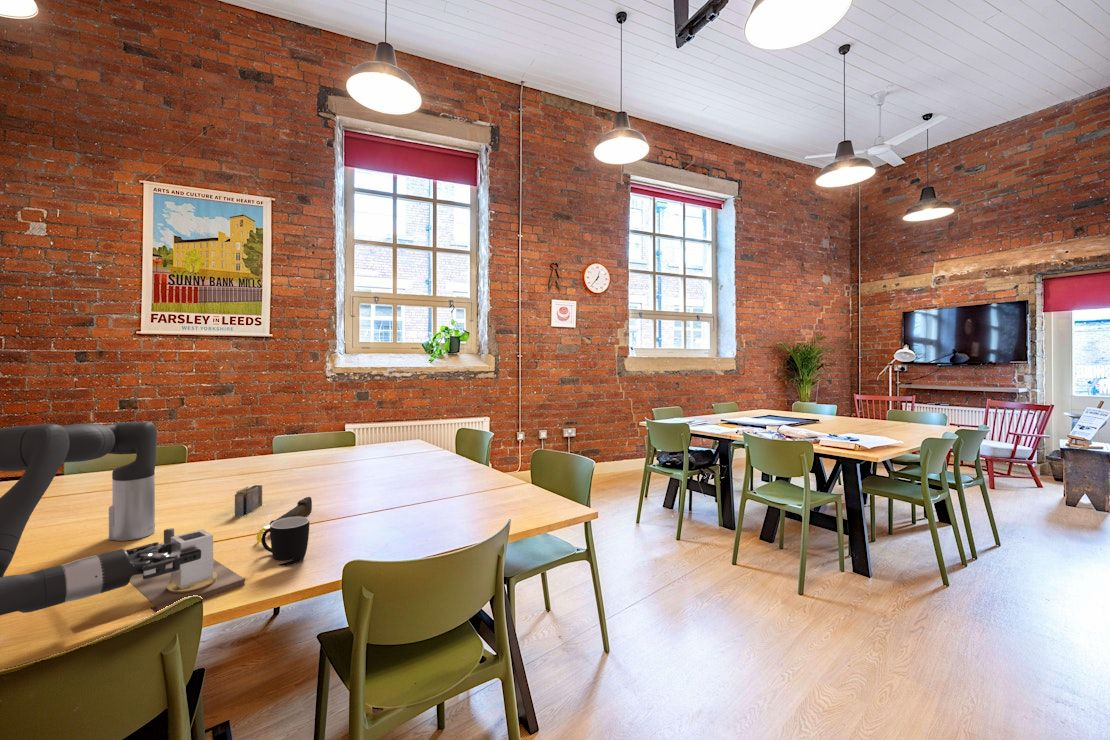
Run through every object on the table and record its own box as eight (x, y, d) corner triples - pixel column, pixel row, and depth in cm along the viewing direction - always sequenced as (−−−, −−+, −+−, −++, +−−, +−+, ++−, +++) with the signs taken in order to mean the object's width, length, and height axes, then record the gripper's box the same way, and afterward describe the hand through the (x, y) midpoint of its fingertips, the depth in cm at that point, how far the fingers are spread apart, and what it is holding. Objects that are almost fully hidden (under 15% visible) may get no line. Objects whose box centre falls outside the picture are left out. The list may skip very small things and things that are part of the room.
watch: (254, 549, 130) (254, 527, 129) (261, 545, 132) (261, 524, 132) (275, 550, 129) (275, 528, 129) (281, 546, 132) (281, 525, 132)
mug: (316, 553, 127) (316, 517, 127) (296, 568, 118) (296, 529, 118) (273, 552, 128) (273, 515, 128) (250, 566, 119) (250, 527, 119)
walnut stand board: (117, 576, 112) (117, 533, 112) (197, 554, 125) (197, 515, 125) (158, 615, 96) (157, 564, 96) (244, 585, 110) (244, 540, 109)
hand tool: (284, 535, 140) (284, 517, 140) (268, 535, 140) (268, 517, 140) (320, 511, 163) (321, 495, 163) (306, 510, 163) (307, 494, 163)
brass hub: (158, 596, 101) (158, 564, 101) (177, 577, 109) (177, 547, 109) (208, 590, 104) (208, 559, 104) (222, 572, 112) (222, 543, 112)
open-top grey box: (181, 588, 102) (180, 543, 102) (170, 580, 106) (170, 537, 106) (213, 578, 107) (213, 535, 107) (202, 571, 111) (202, 529, 110)
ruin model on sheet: (244, 517, 155) (244, 488, 155) (234, 517, 155) (234, 488, 155) (263, 506, 167) (263, 479, 166) (254, 506, 166) (254, 479, 166)
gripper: (105, 565, 89) (205, 539, 102) (85, 547, 97) (181, 525, 110) (105, 604, 89) (205, 573, 103) (85, 583, 97) (181, 556, 111)
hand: (193, 548), depth 106 cm, fingers open, 8 cm apart
